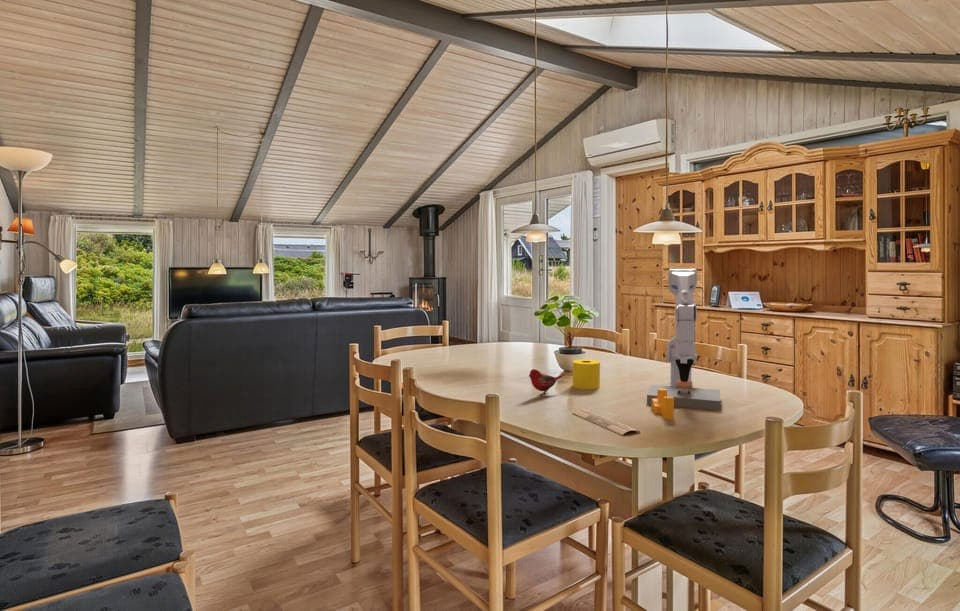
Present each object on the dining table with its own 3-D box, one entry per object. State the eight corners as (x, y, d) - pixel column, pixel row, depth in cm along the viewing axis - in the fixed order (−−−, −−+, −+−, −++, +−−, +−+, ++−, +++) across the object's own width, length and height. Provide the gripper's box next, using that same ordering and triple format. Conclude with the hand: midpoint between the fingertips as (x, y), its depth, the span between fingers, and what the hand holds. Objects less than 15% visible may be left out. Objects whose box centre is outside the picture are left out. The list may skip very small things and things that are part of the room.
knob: (676, 392, 182) (676, 379, 181) (692, 393, 180) (692, 380, 179) (675, 395, 177) (675, 382, 177) (691, 397, 175) (692, 383, 175)
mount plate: (651, 392, 190) (652, 384, 190) (719, 398, 182) (719, 389, 181) (646, 403, 176) (647, 394, 175) (720, 410, 167) (720, 401, 167)
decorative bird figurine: (525, 397, 185) (525, 369, 184) (561, 390, 196) (561, 363, 195) (531, 399, 183) (531, 370, 182) (567, 391, 193) (567, 364, 193)
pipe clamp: (651, 408, 171) (651, 388, 170) (665, 408, 170) (666, 388, 170) (658, 419, 159) (658, 397, 158) (673, 419, 158) (673, 398, 158)
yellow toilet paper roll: (583, 382, 209) (583, 358, 208) (604, 386, 201) (605, 361, 201) (567, 386, 202) (567, 361, 201) (589, 390, 195) (589, 365, 194)
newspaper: (640, 435, 146) (640, 428, 146) (619, 438, 143) (619, 432, 143) (588, 413, 167) (588, 408, 167) (569, 416, 164) (569, 410, 164)
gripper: (697, 344, 169) (696, 386, 170) (698, 338, 182) (697, 377, 183) (673, 343, 172) (673, 384, 173) (676, 337, 185) (675, 376, 186)
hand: (684, 381), depth 178 cm, fingers closed, pressing on knob
